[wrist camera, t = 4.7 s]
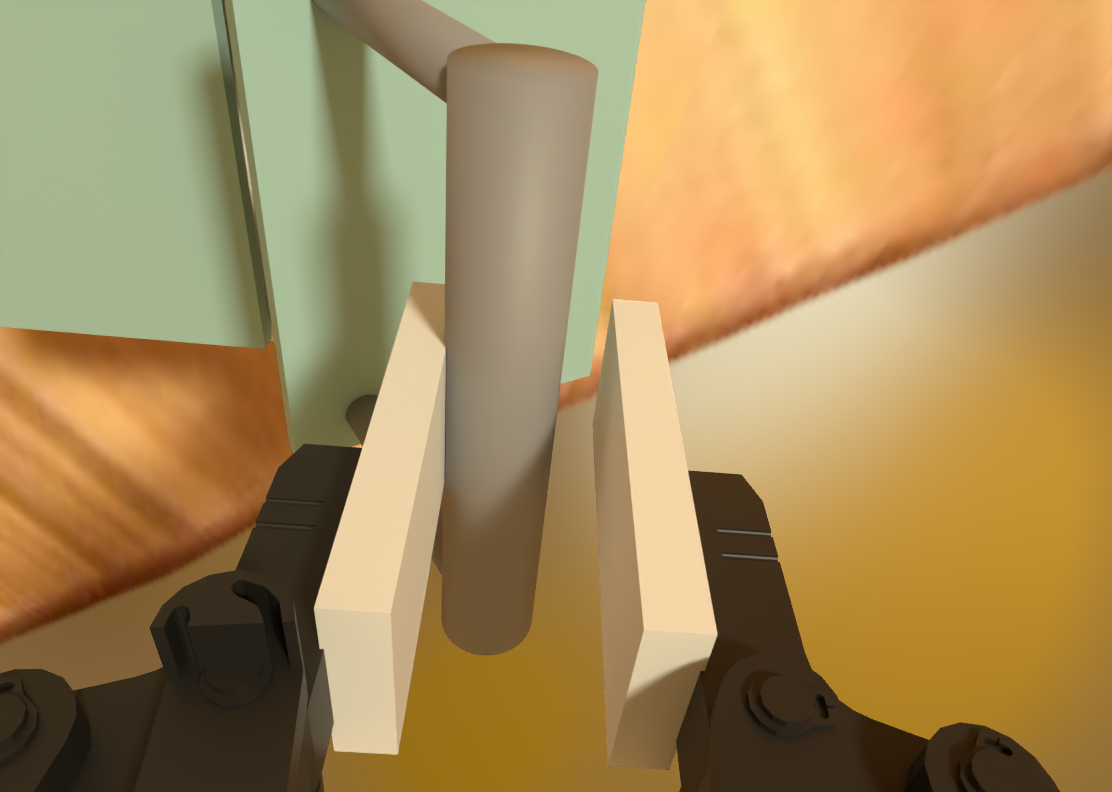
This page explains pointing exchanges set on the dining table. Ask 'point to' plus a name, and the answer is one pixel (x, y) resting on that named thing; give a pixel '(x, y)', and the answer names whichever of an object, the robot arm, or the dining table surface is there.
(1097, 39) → the dining table surface
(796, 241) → the dining table surface
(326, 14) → the near flap
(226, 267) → the far flap
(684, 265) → the dining table surface
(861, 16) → the dining table surface
